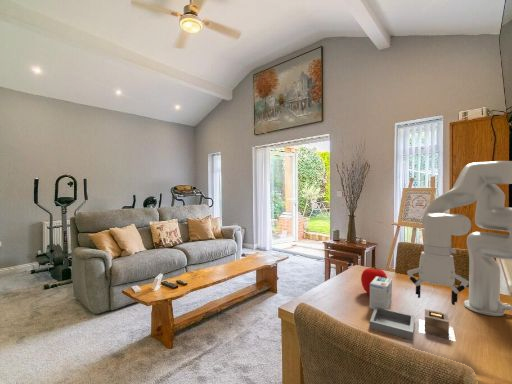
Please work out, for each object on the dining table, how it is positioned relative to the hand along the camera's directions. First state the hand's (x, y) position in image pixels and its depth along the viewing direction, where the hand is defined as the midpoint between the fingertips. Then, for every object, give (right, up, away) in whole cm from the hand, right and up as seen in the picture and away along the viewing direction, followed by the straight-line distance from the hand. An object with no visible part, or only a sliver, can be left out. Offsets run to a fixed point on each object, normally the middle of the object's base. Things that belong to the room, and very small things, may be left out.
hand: (435, 300), depth 89 cm
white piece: (+1, -11, +1) cm, 11 cm away
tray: (-13, -11, +3) cm, 18 cm away
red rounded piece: (-7, -11, +31) cm, 34 cm away
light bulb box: (-9, -11, +20) cm, 25 cm away
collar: (+1, -10, +1) cm, 10 cm away
